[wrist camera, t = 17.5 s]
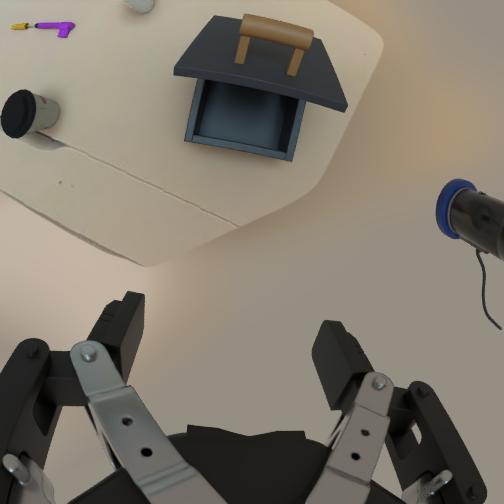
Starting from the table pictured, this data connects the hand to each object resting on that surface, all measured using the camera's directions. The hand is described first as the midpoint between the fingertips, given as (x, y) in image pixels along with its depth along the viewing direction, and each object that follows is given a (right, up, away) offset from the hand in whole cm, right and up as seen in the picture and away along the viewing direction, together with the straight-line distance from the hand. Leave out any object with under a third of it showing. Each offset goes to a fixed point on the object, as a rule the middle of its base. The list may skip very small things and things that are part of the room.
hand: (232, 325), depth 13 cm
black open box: (0, +25, +25) cm, 35 cm away
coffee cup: (-31, +25, +22) cm, 46 cm away
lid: (+2, +22, +10) cm, 24 cm away
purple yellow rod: (-35, +40, +15) cm, 56 cm away
